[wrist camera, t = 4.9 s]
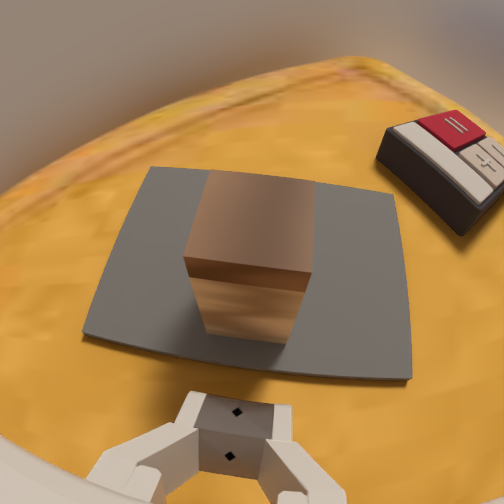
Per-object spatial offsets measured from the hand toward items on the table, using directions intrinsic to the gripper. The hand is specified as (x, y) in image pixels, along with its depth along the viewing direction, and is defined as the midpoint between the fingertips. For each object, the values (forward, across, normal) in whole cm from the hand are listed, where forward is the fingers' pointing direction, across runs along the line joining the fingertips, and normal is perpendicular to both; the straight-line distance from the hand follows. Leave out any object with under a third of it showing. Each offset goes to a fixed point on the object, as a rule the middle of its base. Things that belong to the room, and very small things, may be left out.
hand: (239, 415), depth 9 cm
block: (+10, +1, 0) cm, 10 cm away
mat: (+13, +1, -2) cm, 13 cm away
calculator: (+24, -18, -10) cm, 31 cm away
